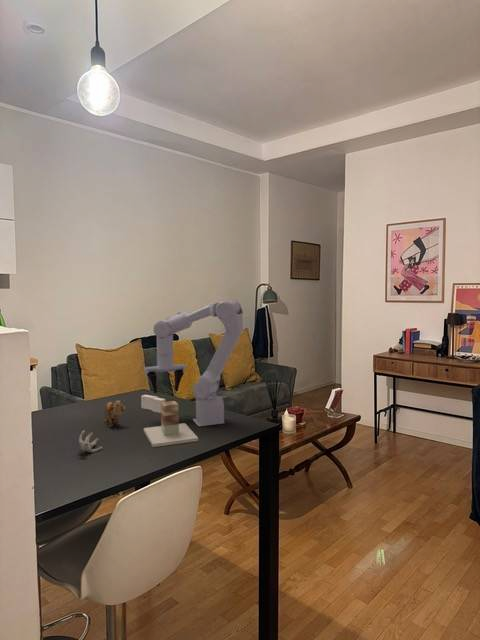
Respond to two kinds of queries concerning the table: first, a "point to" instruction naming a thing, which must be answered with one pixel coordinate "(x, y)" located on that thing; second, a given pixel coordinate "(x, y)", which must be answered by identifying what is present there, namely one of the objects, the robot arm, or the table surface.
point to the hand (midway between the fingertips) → (165, 391)
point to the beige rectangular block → (151, 403)
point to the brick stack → (169, 413)
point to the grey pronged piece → (87, 443)
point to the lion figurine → (113, 411)
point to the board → (170, 435)
